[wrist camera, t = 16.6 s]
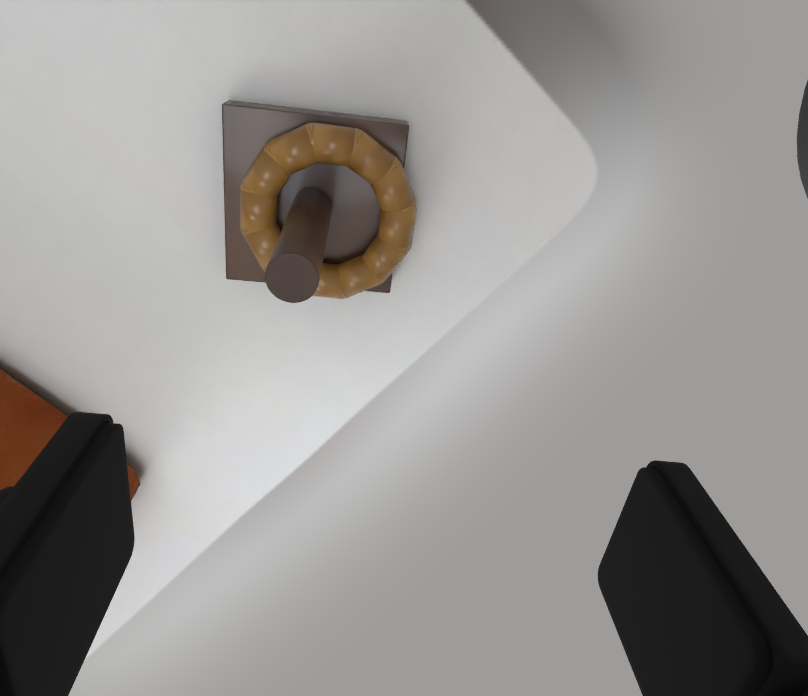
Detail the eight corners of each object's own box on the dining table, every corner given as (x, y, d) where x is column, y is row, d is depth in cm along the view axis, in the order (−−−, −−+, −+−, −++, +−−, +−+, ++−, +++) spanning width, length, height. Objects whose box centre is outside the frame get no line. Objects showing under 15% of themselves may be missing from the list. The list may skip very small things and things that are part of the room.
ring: (425, 134, 30) (428, 140, 28) (402, 296, 34) (403, 310, 32) (244, 110, 29) (237, 115, 27) (242, 280, 33) (236, 293, 31)
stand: (407, 120, 31) (427, 168, 21) (389, 283, 35) (398, 388, 25) (227, 99, 30) (157, 139, 20) (231, 269, 34) (175, 373, 24)
